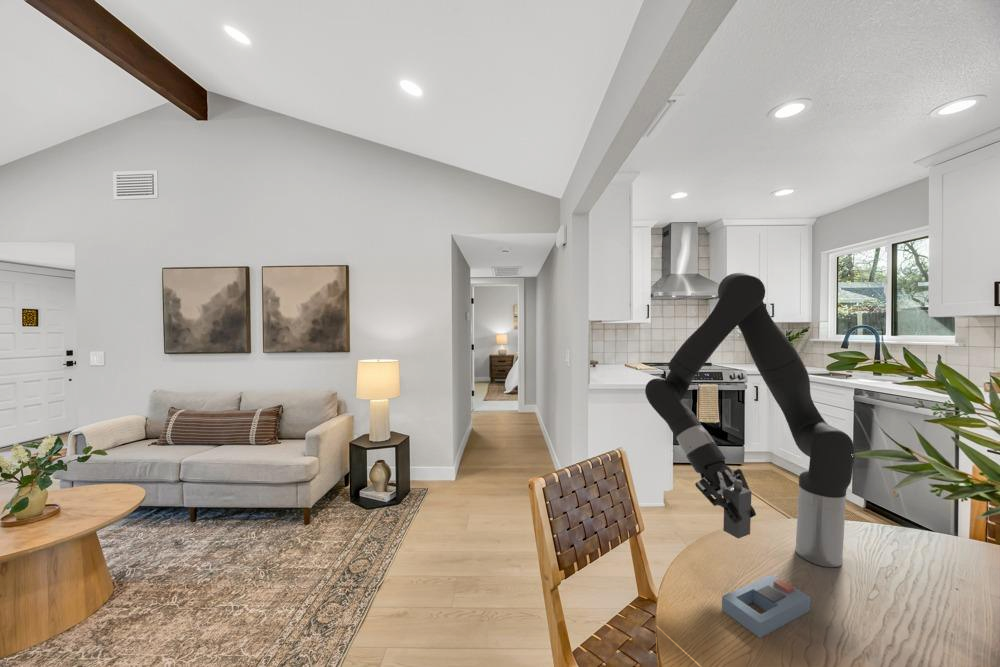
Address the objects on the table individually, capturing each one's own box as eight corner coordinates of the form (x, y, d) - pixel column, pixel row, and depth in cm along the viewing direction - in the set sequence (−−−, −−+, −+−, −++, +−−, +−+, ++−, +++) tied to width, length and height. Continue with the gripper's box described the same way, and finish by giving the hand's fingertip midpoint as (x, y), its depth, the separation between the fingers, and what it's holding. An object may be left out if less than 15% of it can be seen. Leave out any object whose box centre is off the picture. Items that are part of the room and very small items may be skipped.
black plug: (735, 526, 97) (736, 476, 96) (750, 534, 94) (751, 482, 93) (723, 530, 96) (724, 479, 95) (738, 538, 92) (739, 485, 91)
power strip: (770, 586, 93) (771, 570, 93) (810, 610, 86) (810, 593, 86) (721, 610, 86) (722, 592, 86) (759, 638, 79) (760, 619, 79)
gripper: (688, 446, 97) (735, 521, 87) (729, 436, 103) (778, 505, 93) (669, 460, 102) (712, 532, 92) (710, 450, 108) (754, 517, 98)
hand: (745, 518), depth 93 cm, fingers closed on black plug, 4 cm apart
